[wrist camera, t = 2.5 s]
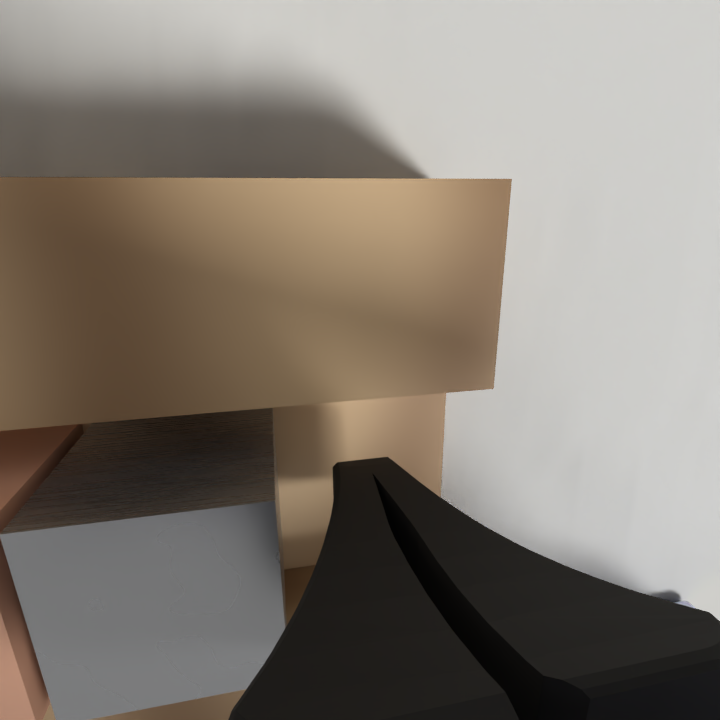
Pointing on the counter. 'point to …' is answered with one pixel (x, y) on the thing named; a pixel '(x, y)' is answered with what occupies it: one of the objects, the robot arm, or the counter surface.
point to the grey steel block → (153, 562)
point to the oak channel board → (254, 322)
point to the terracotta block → (3, 609)
